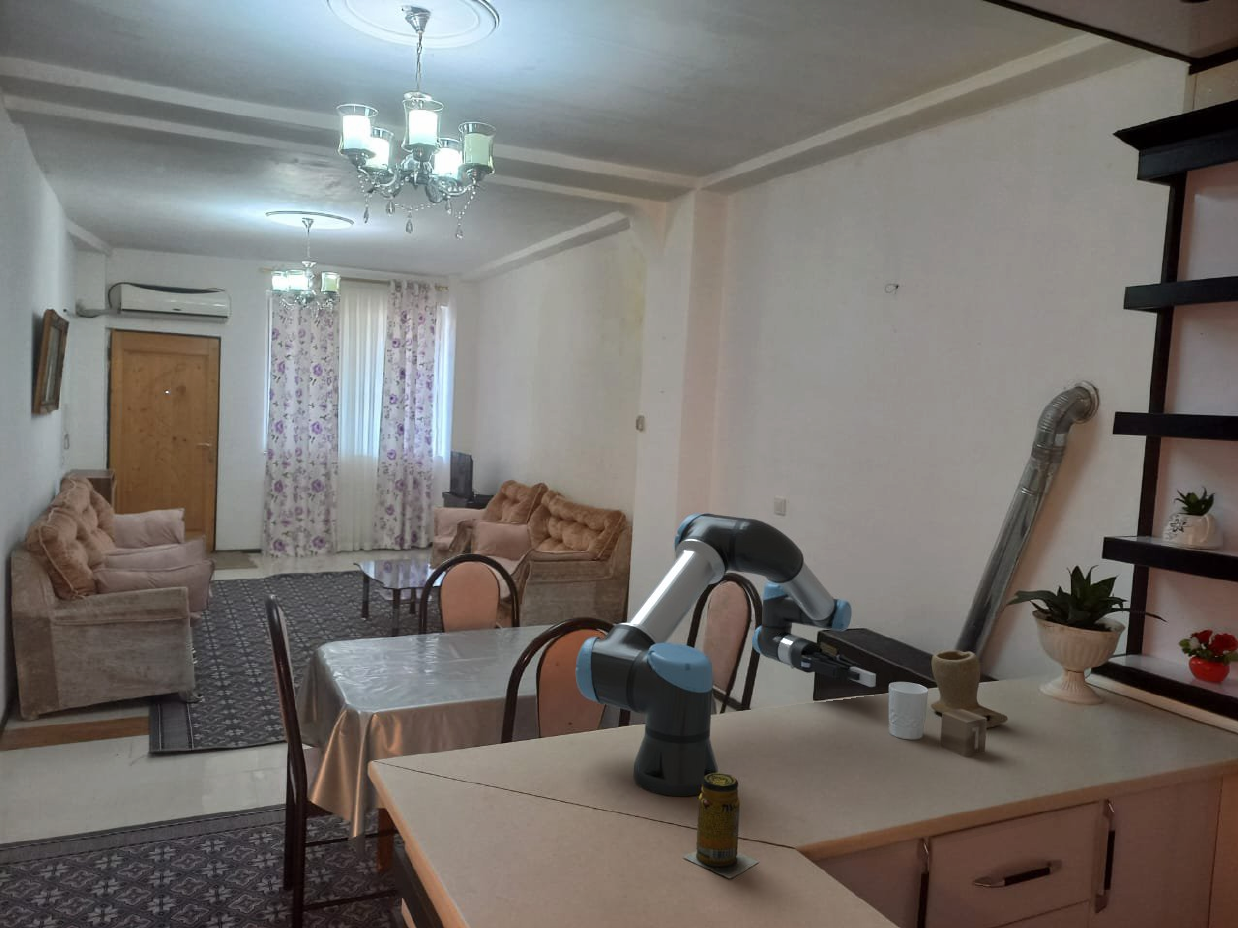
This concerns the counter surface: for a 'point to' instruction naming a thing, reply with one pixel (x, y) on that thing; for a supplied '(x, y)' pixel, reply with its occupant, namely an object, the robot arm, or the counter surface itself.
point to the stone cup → (960, 685)
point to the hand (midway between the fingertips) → (873, 680)
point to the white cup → (907, 709)
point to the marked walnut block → (963, 732)
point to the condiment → (719, 827)
